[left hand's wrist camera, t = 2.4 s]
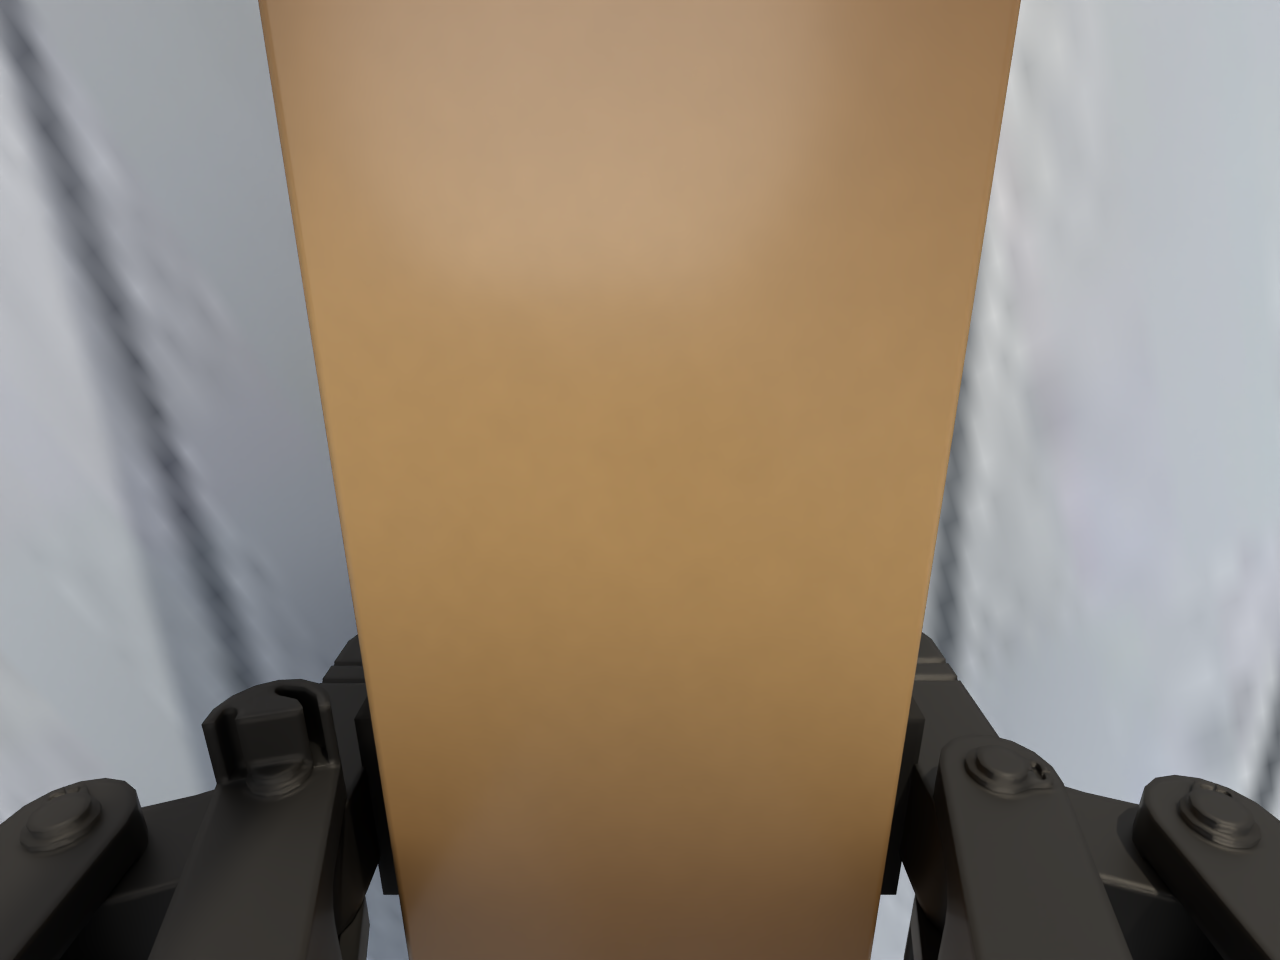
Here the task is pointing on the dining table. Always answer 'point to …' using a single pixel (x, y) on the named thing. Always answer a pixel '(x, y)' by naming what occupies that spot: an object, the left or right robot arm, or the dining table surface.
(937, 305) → the bar
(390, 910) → the dining table surface
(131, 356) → the dining table surface
